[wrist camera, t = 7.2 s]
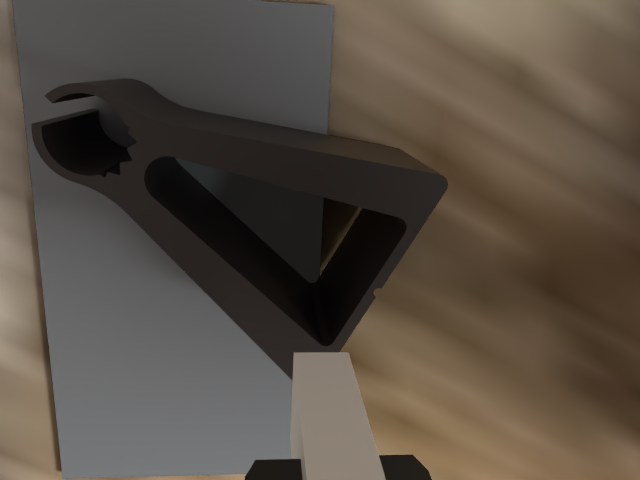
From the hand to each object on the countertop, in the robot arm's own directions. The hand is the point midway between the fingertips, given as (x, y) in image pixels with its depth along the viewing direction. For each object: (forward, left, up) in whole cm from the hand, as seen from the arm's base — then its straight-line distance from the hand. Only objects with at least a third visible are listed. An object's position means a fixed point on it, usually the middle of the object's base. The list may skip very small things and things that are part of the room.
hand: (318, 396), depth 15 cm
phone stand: (-3, -1, -7) cm, 8 cm away
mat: (+5, 0, -10) cm, 12 cm away
